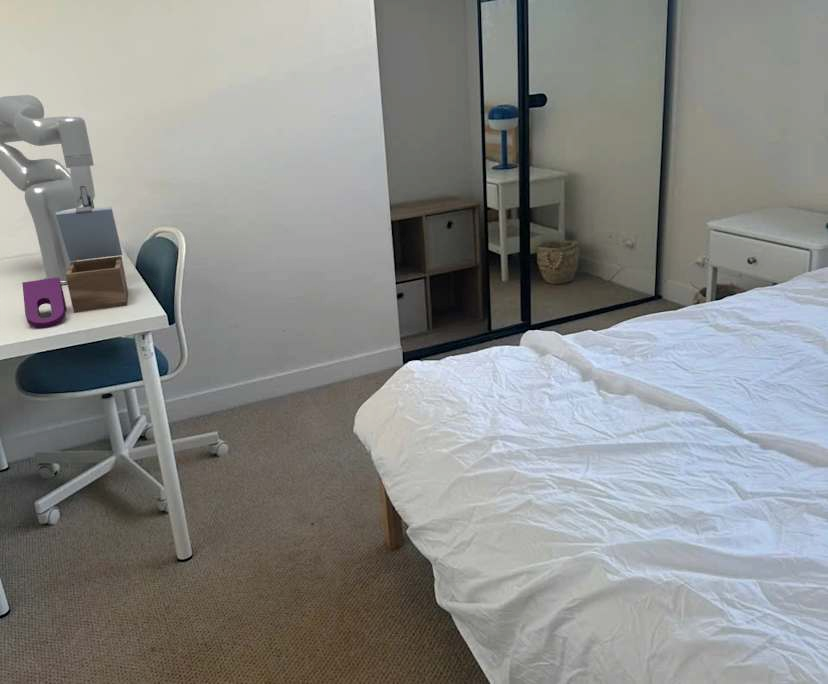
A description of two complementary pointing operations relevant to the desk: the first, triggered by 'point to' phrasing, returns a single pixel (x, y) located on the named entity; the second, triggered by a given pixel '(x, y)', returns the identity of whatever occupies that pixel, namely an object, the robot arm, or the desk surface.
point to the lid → (89, 233)
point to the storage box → (97, 284)
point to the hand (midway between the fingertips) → (92, 223)
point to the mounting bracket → (44, 301)
